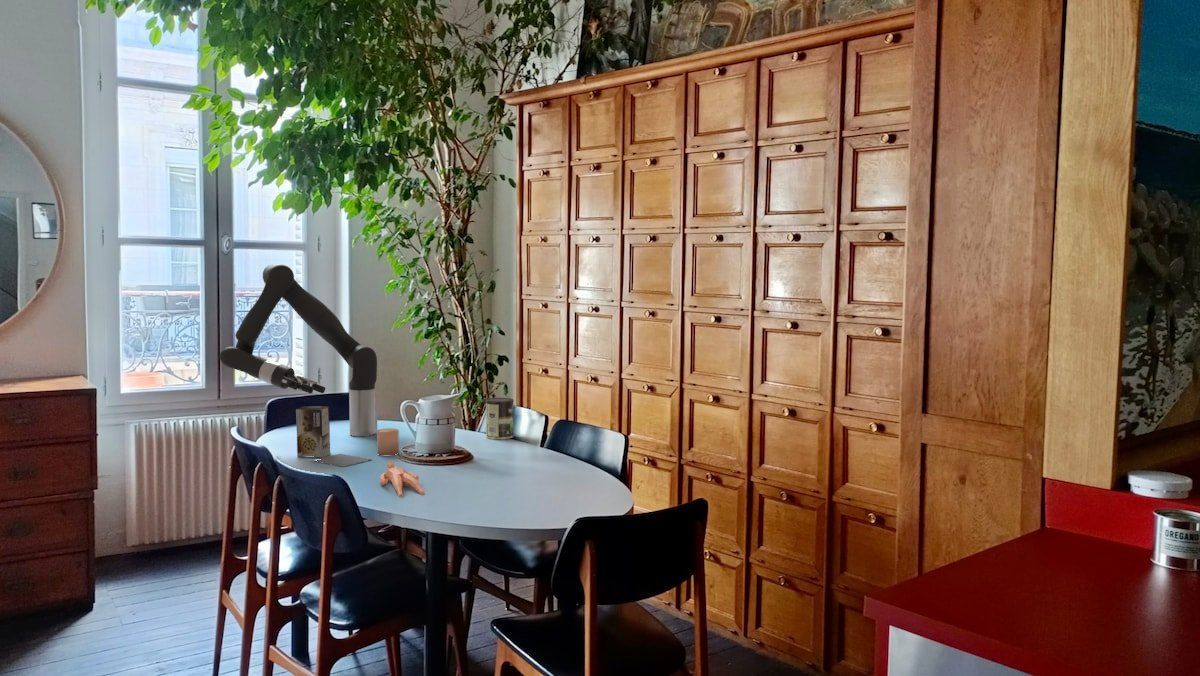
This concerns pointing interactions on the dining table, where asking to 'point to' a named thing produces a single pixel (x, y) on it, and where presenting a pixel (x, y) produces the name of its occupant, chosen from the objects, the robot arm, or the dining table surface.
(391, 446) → the peach rounded block
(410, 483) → the male figurine
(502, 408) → the coffee can
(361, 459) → the mat
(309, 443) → the coffee box
